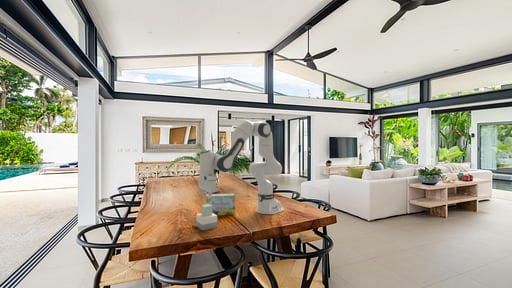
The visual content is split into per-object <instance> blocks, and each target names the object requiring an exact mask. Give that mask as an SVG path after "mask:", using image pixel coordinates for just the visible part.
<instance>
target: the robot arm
mask: <svg viewBox="0 0 512 288" xmlns="http://www.w3.org/2000/svg"><path fill="white" fill-rule="evenodd" d="M250 136H253V137H258V155H259V156H260V157H261V158H263V159H265V160H266V161H254V162H251V163H250V165H248V166H249V167H248V171H249V174H250V175H251V176H253V177H254V179H255V180H256V181H257V182H256V183H257V186H258V188H257V189H258V193H257V207H256V213H258V214H263V215H275V214H278V213H282V212H284V211H285V208H284V207H282V205H281V202H280V201H279V200H278V199H276V198H275V197H277V193H273V190H274V188H273V182H272V181H270V180H268V179H266V178H265V177H271V176H272V177H273V176H274V177H275V176H279V175H281V173H282V172H283V166H282V164H281V163H280V162H279V161H278V160H277V159H276V157H275V156H274V139H273V138H274V137H273V133H272V129H271V125H270V124H269V123H268V122H265V121H259V120H258V121H251V120H249V119H245V120H243V121H241V122H240V124H238V126H237V127H236V128H235V129H234V130H233V132H232V134H231V135H230V138H231V142H232V146H231V147H230V149H229V151H227V153H225V154H224V155H221V154H218V153H216V152H214V151H213V150H211V149H210V150H204V151H201V152H200V154H199V161H198V162H199V171H198V172H199V177H198V183H197V184H198V185H197V186H198V189H201V190H200V191H201V196H203V197H204V196H205V197H206V192H207V193H208V194H207V195H208V198H209V199H211V196H212V194H213V193H216V191H217V181H216V180H217V176H216V174H215V173H214V170H218V171H220V172H222V173H227V172H229V171H231V170H232V169H233V167H234V164H235V160H236V158H237V157H238V156H239V154H240V153H241V151H242V149H243V148H244V146H245V143H246V142H247V140H248V139H249V138H250Z"/></svg>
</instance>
